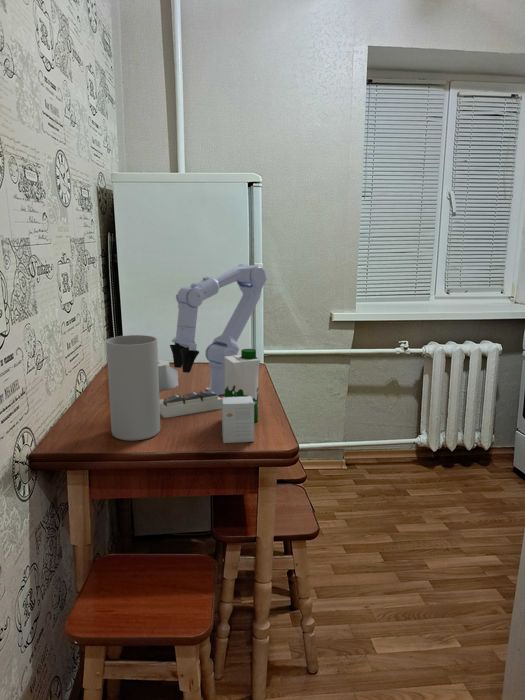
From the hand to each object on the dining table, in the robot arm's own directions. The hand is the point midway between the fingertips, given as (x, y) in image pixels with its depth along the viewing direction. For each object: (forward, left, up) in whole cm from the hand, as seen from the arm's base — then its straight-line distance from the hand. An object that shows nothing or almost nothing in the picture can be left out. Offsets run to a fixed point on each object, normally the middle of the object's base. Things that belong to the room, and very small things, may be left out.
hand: (182, 369), depth 160 cm
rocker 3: (-5, +10, -6) cm, 12 cm away
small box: (-2, +35, -10) cm, 37 cm away
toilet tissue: (+2, -18, -10) cm, 21 cm away
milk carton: (-9, +23, -10) cm, 27 cm away
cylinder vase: (+20, +19, -10) cm, 30 cm away
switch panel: (-1, +8, -10) cm, 13 cm away
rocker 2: (+1, +10, -6) cm, 11 cm away
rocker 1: (+6, +10, -6) cm, 13 cm away
